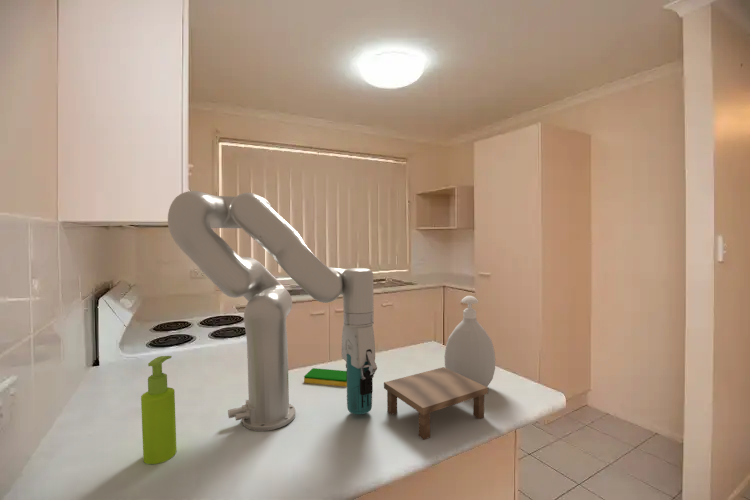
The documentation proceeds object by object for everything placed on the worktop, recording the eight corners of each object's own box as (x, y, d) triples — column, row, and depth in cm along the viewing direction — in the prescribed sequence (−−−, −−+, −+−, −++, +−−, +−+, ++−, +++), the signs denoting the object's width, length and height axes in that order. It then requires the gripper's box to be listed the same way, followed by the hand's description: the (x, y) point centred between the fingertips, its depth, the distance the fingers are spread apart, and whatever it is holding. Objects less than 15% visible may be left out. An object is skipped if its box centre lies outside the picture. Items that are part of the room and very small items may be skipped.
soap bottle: (493, 381, 110) (494, 293, 109) (496, 393, 102) (497, 298, 101) (445, 378, 113) (445, 292, 112) (444, 388, 105) (444, 297, 104)
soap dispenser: (184, 443, 79) (181, 353, 78) (167, 464, 72) (163, 364, 71) (156, 444, 79) (153, 353, 78) (136, 464, 72) (133, 365, 71)
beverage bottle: (361, 423, 86) (360, 341, 85) (340, 415, 90) (340, 336, 90) (377, 412, 92) (377, 334, 91) (357, 405, 96) (357, 330, 95)
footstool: (423, 441, 79) (423, 408, 78) (384, 411, 92) (383, 382, 92) (487, 417, 89) (487, 387, 88) (443, 393, 103) (443, 367, 102)
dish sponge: (313, 375, 118) (312, 367, 118) (353, 378, 115) (353, 371, 114) (303, 383, 111) (303, 376, 111) (346, 388, 108) (346, 380, 107)
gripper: (330, 313, 95) (331, 379, 96) (362, 327, 81) (362, 406, 81) (355, 310, 99) (356, 374, 100) (390, 323, 84) (390, 398, 85)
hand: (359, 387), depth 91 cm, fingers closed on beverage bottle, 6 cm apart
